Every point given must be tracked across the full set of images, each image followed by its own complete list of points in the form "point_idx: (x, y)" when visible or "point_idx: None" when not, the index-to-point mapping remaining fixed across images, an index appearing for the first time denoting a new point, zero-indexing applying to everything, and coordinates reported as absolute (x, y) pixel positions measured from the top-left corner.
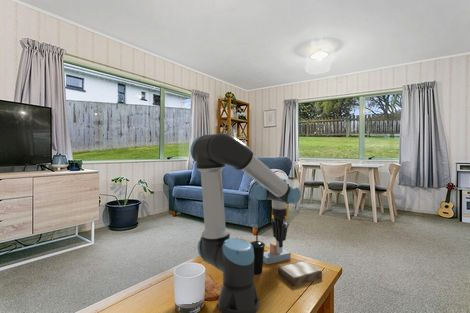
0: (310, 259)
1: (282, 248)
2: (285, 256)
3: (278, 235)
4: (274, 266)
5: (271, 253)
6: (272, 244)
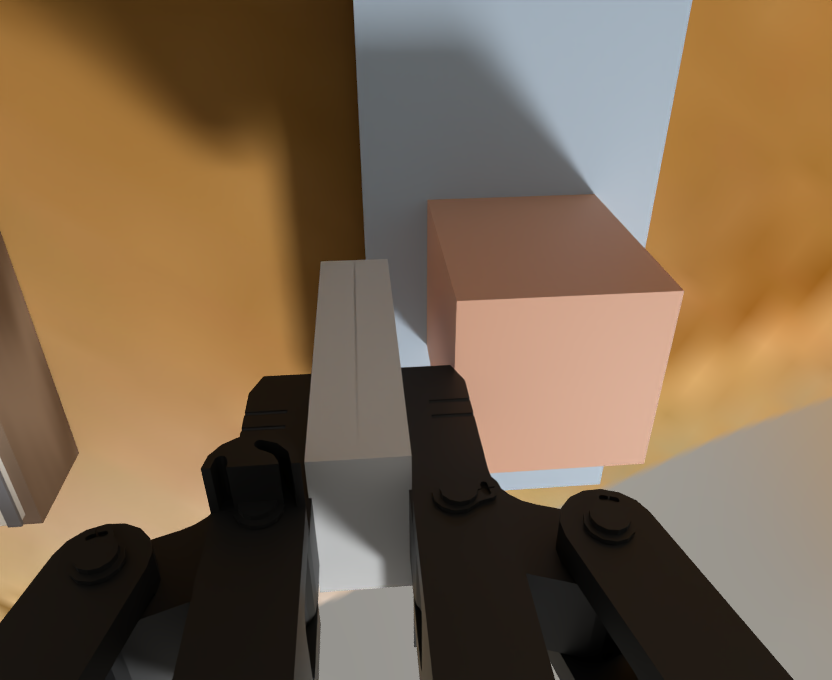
0: None
1: (596, 476)
2: None
3: (275, 675)
4: (233, 45)
5: (518, 185)
6: (548, 297)
